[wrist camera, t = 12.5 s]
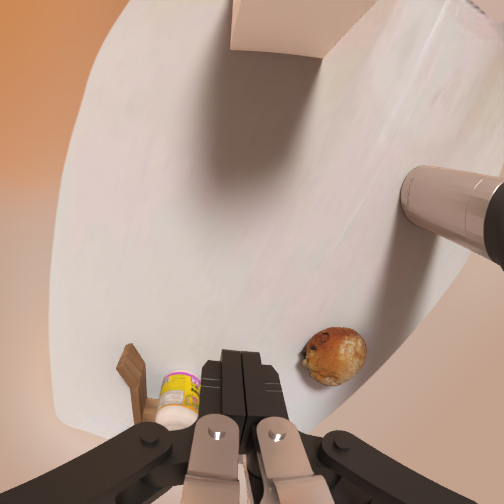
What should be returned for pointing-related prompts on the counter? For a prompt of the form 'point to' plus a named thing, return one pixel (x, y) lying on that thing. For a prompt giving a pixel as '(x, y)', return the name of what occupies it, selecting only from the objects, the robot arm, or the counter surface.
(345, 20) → the milk
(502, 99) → the counter surface
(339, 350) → the bread roll
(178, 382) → the supplement bottle
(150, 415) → the holder
